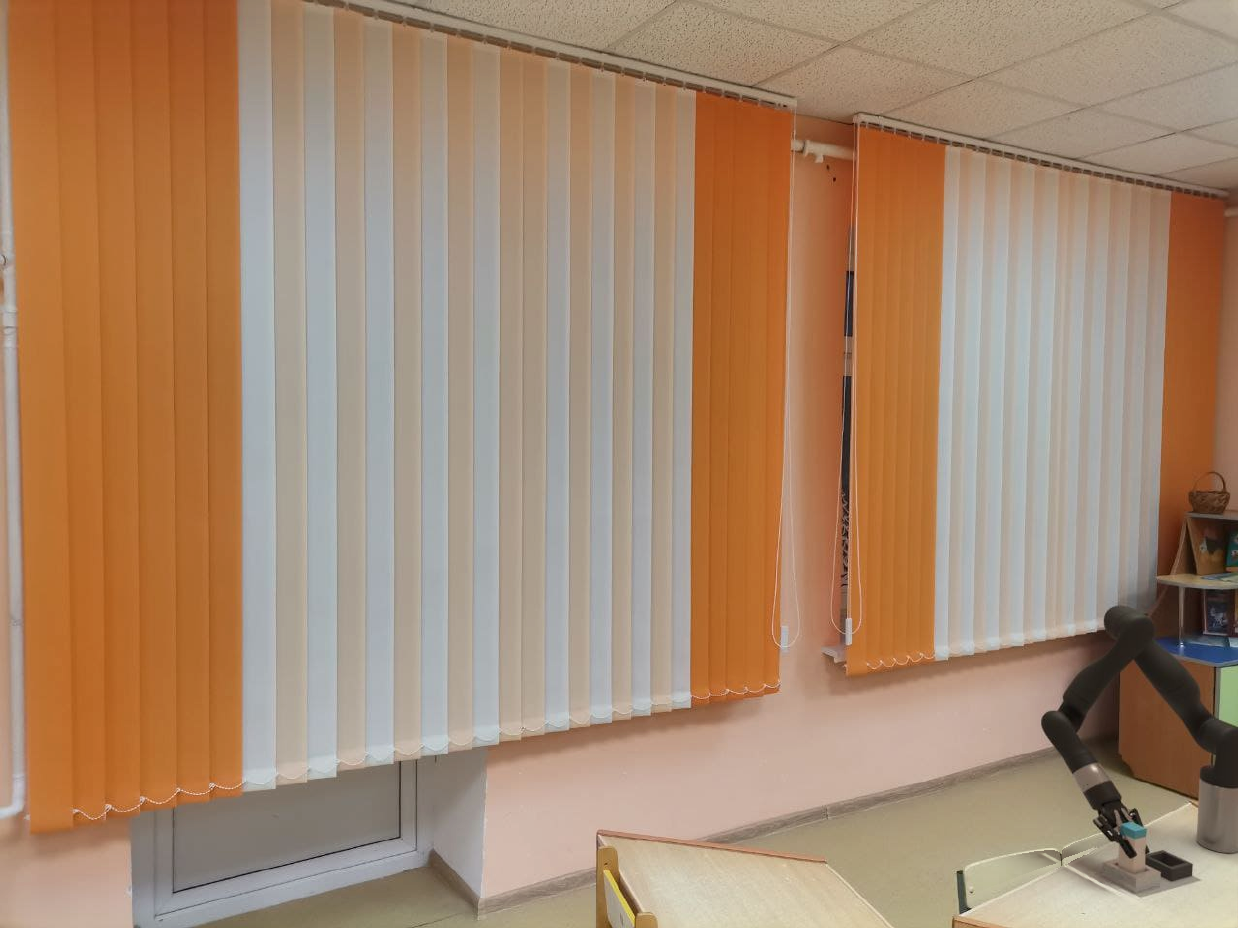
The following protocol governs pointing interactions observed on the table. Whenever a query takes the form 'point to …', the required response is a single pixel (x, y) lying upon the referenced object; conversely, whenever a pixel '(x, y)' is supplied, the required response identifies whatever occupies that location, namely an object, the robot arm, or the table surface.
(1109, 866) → the port
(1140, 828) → the plug
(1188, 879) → the panel
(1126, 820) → the robot arm
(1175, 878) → the dark grey square socket
